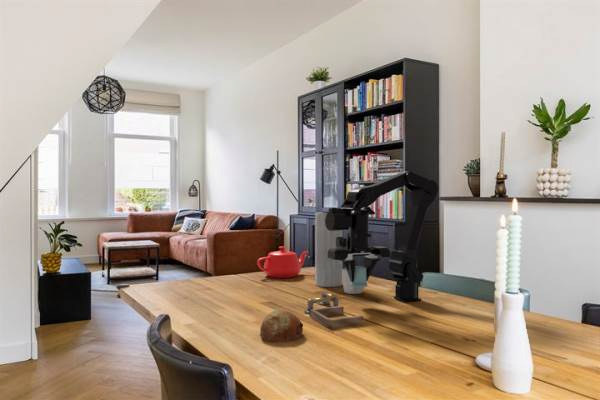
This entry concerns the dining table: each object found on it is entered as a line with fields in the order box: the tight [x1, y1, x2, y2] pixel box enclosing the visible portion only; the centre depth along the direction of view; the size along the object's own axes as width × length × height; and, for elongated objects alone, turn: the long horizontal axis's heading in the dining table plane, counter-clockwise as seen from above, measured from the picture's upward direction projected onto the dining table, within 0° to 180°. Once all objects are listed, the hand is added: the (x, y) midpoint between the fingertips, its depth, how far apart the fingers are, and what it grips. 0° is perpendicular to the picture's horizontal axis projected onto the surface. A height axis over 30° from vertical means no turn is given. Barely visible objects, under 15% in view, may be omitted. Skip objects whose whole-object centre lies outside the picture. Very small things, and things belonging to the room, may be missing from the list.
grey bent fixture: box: [303, 290, 339, 315], centre depth 135 cm, size 12×12×4 cm
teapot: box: [256, 245, 309, 279], centre depth 188 cm, size 25×16×12 cm, turn 124°
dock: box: [308, 305, 364, 329], centre depth 121 cm, size 10×12×2 cm
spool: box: [351, 265, 368, 288], centre depth 138 cm, size 5×5×6 cm
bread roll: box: [259, 309, 304, 343], centre depth 108 cm, size 10×10×8 cm
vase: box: [314, 211, 343, 288], centre depth 169 cm, size 10×10×27 cm
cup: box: [342, 267, 365, 295], centre depth 154 cm, size 11×8×8 cm
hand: (359, 281), depth 138 cm, fingers closed on spool, 4 cm apart
